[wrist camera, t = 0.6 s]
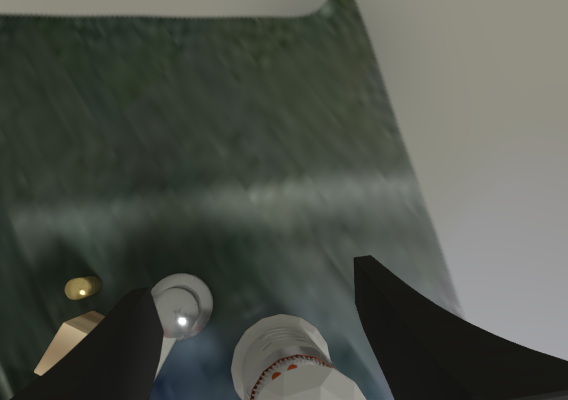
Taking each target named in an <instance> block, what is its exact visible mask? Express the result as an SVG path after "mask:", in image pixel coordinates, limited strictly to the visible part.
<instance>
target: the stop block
mask: <svg viewBox="0 0 568 400" xmlns="http://www.w3.org/2000/svg"><path fill="white" fill-rule="evenodd" d="M104 317H105V316H103V315H101V314H99V313H97V312H95V311H91V312H88V313H86V314H83V315H81V316H78V317H76V318H73V319H71V320H68V321H66V322H64V323H63V324H62V326H61V328H60V329H59V331H58V333H57V334H56V336H55V338H54V339H53V341H52V343H51V344H50V346H49V348H48V349H47V351H46V353H45V354H44V356H43V358H42V359H41V361H40V363H39V364H38V366H37V368H36V369H35V371H34V373H36V374H38V375H40V376H41V375H43V374H44V373H45V372H46V371H48V370H49V369H50V368H51V367H52V366H54V365H55V364H56V363H57V362H58V361H59V360H61V359H62V358H63V357H64V356H65V355H66V354H67V353H68V352H69V351H70V350H72V349H73V348H74V347H75V346H76V345H77V344H78V343H79V342H80V341H81V340H82V339H83V338H84V337H85V336H86V335H88V334H89V333H90V332H91V331H92V330H93V329H94V328H95V327H96V326H97V325H98V324H99V323H100V322H101V321H102V319H103V318H104Z"/></svg>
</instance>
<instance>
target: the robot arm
mask: <svg viewBox="0 0 568 400" xmlns="http://www.w3.org/2000/svg"><path fill="white" fill-rule="evenodd" d="M354 283H355V304H356V307H357V311H358V314H359V317H360V320H361V323H362V327H363V329H364V332H365V334H366V336H367V338H368V341H369V343H370V345H371V347H372V350H373V352H374V354H375V356H376V358H377V360H378V363H379V365H380V367H381V369H382V371H383V374H384V376H385V378H386V380H387V382H388V385H389V387H390V389H391V392H392V394H393V397H394V399H395V400H568V361H566V360H563V359H560V358H557V357H554V356H551V355H548V354H544V353H541V352H538V351H535V350H532V349H529V348H527V347H524V346H521V345H519V344H516V343H514V342H511V341H508V340H506V339H504V338H501V337H499V336H496V335H494V334H492V333H490V332H488V331H486V330H483V329H481V328H479V327H477V326H475V325H473V324H471V323H469V322H467V321H465V320H463V319H461V318H459V317H457V316H456V315H454V314H452V313H450V312H448V311H447V310H445V309H443V308H441V307H440V306H438V305H436V304H435V303H433V302H432V301H430V300H429V299H427V298H426V297H424V296H423V295H421V294H420V293H418V292H417V291H415V290H414V289H413V288H411V287H410V286H409V285H407V284H406V283H405V282H403V281H402V280H401V279H399V278H398V277H397V276H396V275H394V274H393V273H392V272H391V271H389V270H388V269H387V268H386V267H384V266H383V265H382V264H381V263H380V262H378V261H377V260H376V259H375V258H373V257H372V256H371V255H368V256H362V257H355V258H354ZM163 336H164V330H163V327H162V324H161V321H160V318H159V315H158V312H157V309H156V306H155V303H154V300H153V297H152V294H151V291H150V288H142V289H135V290H131V291H130V292H129V293H128V294H127V295H126V296H125V297H124V298H123V299H122V300H121V301H120V302H119V303H118V304H117V305H116V306H115V307H114V308H113V309H112V310H111V311H110V312H109V313H108V314H107V315H106V316H105V317H104V318H103V319H102V321H101V322H100V323H99V324H98V325H97V326H96V327H95V328H94V329H93V330H92V331H91V332H90V333H89V334H88V335H86V336H85V337H84V338H83V339H82V340H81V341H80V342H79V343H78V344H77V345H76V346H75V347H74V348H73V349H72V350H70V351H69V352H68V353H67V354H66V355H65V356H64V357H63V358H62V359H61V360H59V361H58V362H57V363H56V364H55V365H54V366H52V367H51V368H50V369H49V370H48V371H46V372H45V373H44V374H43V375H41V376H40V377H39V378H38V379H36V380H35V381H34V382H33V383H31V384H30V385H29V386H28V387H26V388H25V389H23V390H22V391H21V392H19V393H18V394H16V395H15V396H14V397H12V398H11V399H10V400H149V397H150V393H151V390H152V386H153V383H154V380H155V376H156V372H157V369H158V365H159V362H160V357H161V350H162V344H163Z"/></svg>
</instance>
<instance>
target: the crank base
mask: <svg viewBox="0 0 568 400" xmlns="http://www.w3.org/2000/svg"><path fill="white" fill-rule="evenodd" d="M175 285H185V286H188V287H190V288H192V289H193V290H194V291H195V292H196V293H197V294H198V296H199V298H200V300H201V312H200V315H199V317H198V319H197V321H196V323H195V324H194V326H193V327H192V329H191V330H190V331H189V332H188V333H186V334H185V335H183V336H181V337H178V338H177V340H176V341H179V340H186V339H189V338H191V337H193V336H195V335H197V334H198V333H199V332H201V331H202V330H203V329H204V328H205V326H206V325H207V323H208V321H209V319H210V317H211V314H212V311H213V296H212V292H211V290H210V288H209V286H208V285H207V284H206V282H204V281H203V280H202V279H201V278H199V277H198V276H196V275H193V274H189V273H177V274H173V275H170V276H168V277H166V278H164V279H162V280H161V281H159V282H158V283H157V284H156V285H155V286H154V288H153V289H152V290H151V294H152V297H153V299H154V298H155V297H156V296H157V295H158V294H159V293H160V292H162V291H164V290H166V289H168V288H170V287H172V286H175ZM101 288H102V281H101V279H100V278H99V277H97V276H86V277H80V278H74V279H72V280H70V281H69V282H68V283H67V284H66V286H65V294H66V296H67V297H68V298H70V299H72V300H78V299H82V298H85V297H88V296H92V295H95V294H97V293H98V292H99V291H100V290H101Z"/></svg>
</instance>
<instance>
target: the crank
mask: <svg viewBox="0 0 568 400" xmlns="http://www.w3.org/2000/svg"><path fill="white" fill-rule="evenodd" d="M153 300H154V303H155V306H156V309H157V312H158V315H159V318H160V321H161V324H162V327H163V330H164V336H163V344H162V350H161V357H160V362H159V365H158V369H157V372H156V376H155V379H156V377H157V376H158V374H159V372H160V370H161V368H162V366H163V364H164V362H165V361H166V359H167V357H168V355H169V353H170V351H171V349H172V347H173V346H174V344H175V342H176V340H177V338H178V337H181V336H183V335H185V334H186V333H188V332H189V331H190V330H191V329H192V327H193V326H194V324H195V323H196V321H197V319H198V317H199V315H200V312H201V300H200V298H199V296H198V294H197V293H196V292H195V291H194V290H193V289H192V288H190V287H188V286H185V285H175V286H172V287H170V288H168V289H166V290H164V291H162V292H160V293H159V294H158V295H157V296H156V297H155V298H154V299H153ZM154 381H155V380H154Z"/></svg>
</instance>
